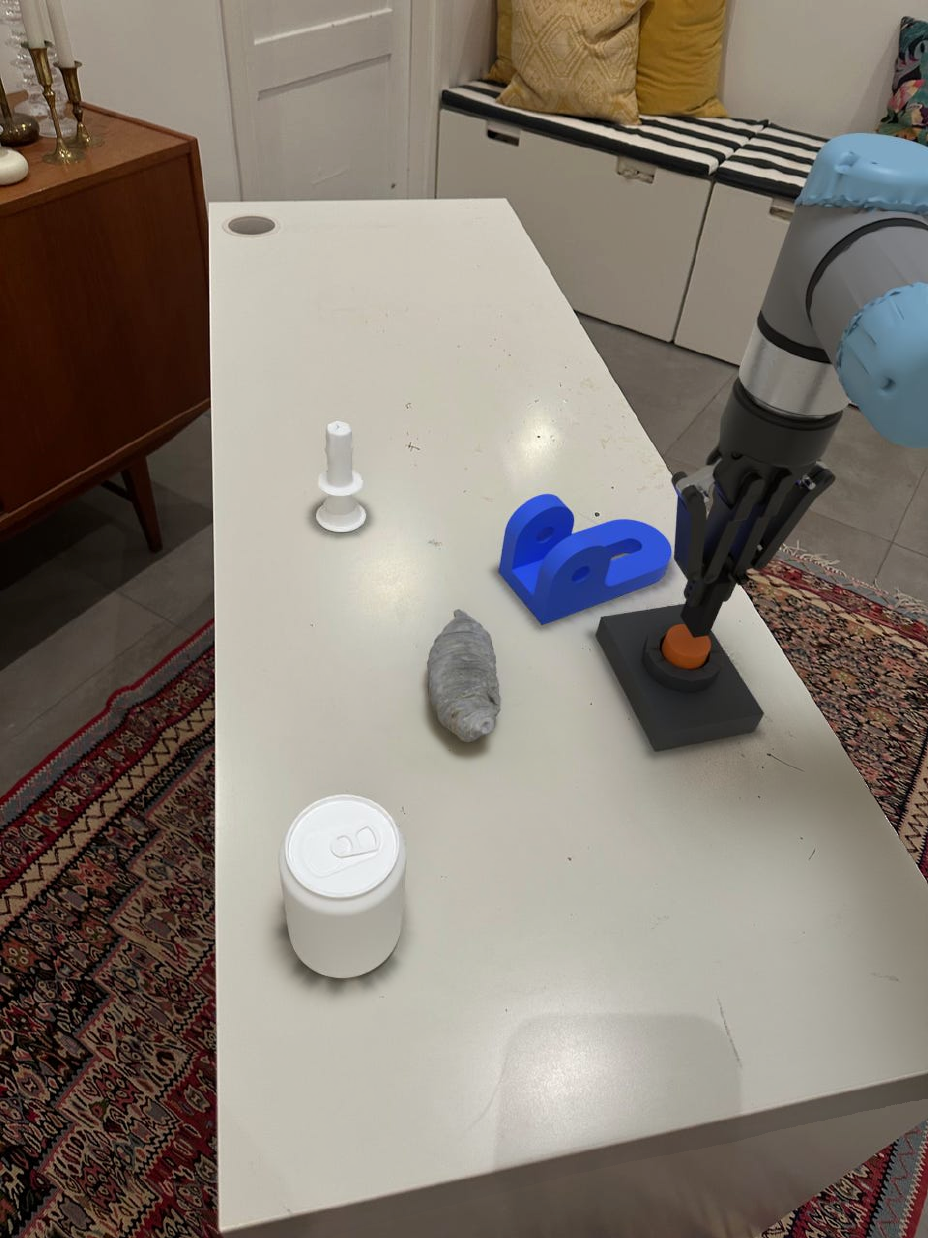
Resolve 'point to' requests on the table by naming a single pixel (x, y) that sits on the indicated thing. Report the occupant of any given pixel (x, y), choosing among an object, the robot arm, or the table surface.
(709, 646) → the switch
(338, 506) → the candle
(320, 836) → the beverage can
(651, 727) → the push button base
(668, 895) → the table surface
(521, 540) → the bracket
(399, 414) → the table surface
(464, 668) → the grey ridged oval piece
